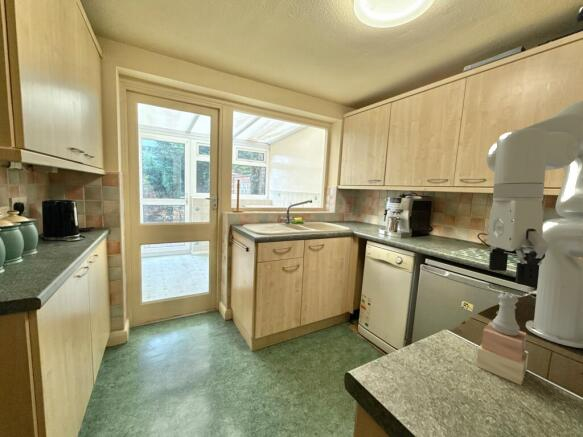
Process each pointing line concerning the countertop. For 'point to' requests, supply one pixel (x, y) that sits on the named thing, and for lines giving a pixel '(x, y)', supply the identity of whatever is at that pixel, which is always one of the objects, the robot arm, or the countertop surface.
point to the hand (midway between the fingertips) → (510, 276)
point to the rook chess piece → (506, 315)
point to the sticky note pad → (503, 354)
